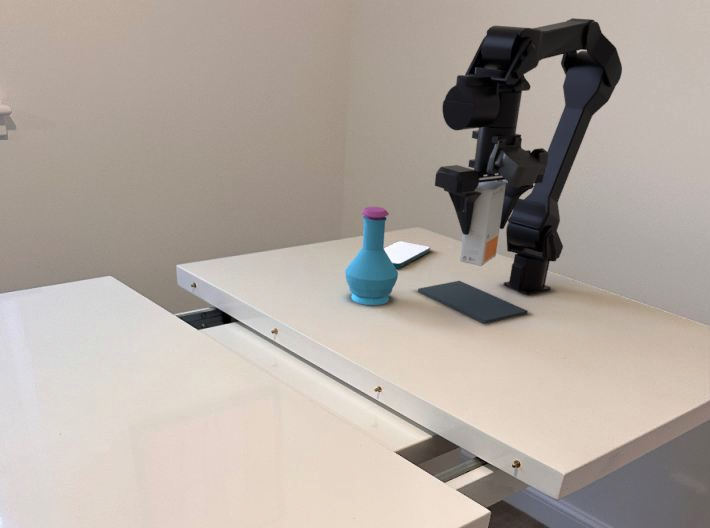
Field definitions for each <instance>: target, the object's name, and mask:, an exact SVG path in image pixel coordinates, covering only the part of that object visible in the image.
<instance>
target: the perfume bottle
mask: <svg viewBox="0 0 710 528" xmlns="http://www.w3.org/2000/svg"><path fill="white" fill-rule="evenodd" d="M360 214H361V215H363V217H362V220H363V232H362V233H363V234H362V247H361V249H360V250H359V251H358V253H357V254H356V255H355V256H354V258H353V259H352V260H351V261H350V263H349V264H348V265H347V267H346V268H345V271H344V272H345V279H346V283H347V286H348V290H349V291H350V292H351V293H352V294H351V300H352V301H353V302H355V303H357V304H360V305H366V306H380V305H384V304H386V303H388V302H389V300H390V296H389V295H391V294H392V292H393V288H394V287H395V286H396V283H397V280H398V276H399V272H398V270H397V267H395V266H394V265H393V263H392V262H391V260H390V258H389V257H388V255H387V253H386V252H385V250H384V248H385V229H386V221H387V216H389V215H390V213H389V212H388V210H387V209H385V208H384V207H379V206H367V207H365V208H364V209H363V210H362V211H361V212H360Z"/></svg>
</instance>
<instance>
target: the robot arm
mask: <svg viewBox="0 0 710 528" xmlns="http://www.w3.org/2000/svg"><path fill="white" fill-rule="evenodd" d="M485 33H486V35H485V36H484V37H483V39H481V43H479V46H478V48H477V50H476V52H475V54H474V56H473V58H472V60H471V62H470V64H469V66H468V68H467V70H466V72H465V74H458V75H457V76H456V81H455V85H454V86H452V87H451V88H450V89H449V90H448V91H447V93H446V95H445V97H444V100H443V102H442V109H441V110H442V116H443V119H444V122H445V124H446V126H448V127H449V128H450V129H451V130H453V131H464V130H465V131H466V130H472V129H477V130H472V131H471V132H472V133H471V139H475V140H476V145H475V146H476V147H475V155H474V159H469V160H468V167H465V166H462V165H458V164H454V165H445V166H443V165H442V166H440V167H439V168H438V170H436V172H435V177H434V178H435V180H434V186H435V187H437V188H439V189H440V188H441V189H443V191H444V192H447V193H448V195H449V197H450V200H451V203H452V205H453V207H454V210H455V214H456V217H457V220H458V223H459V226H460V229H461V233H462V235H463V234H465V235H468V234H469V230H470V226H471V221H472V214H473V208H474V202H475V201H476V199H477V198H478V197H479V196H480V195H481V193H480V192H477V191H476V188H477V186H478V184H479V183H481V182H489V181H499V182H505V183H506V187H505V194H504V201H503V208H502V215H501V223H500V229H499V230H503V229H505V227H506V229H505V233H506V234H505V235H506V251H507V252H509V253H514V258H513V263H512V264H511V269H510V276H509V281H505V282H503V286H505V287H507V288H509V289H512V290H513V291H516V292H519V293H521V294H523V295H527V296H529V295H534V294H539V293H543V292H548V291H551V289H552V286H549V285H548V284H547V285H546V281H547V276H548V273H549V272H548V271H549V267H550V262H557V260H558V259H559V258H560V257H561V254H562V252H563V249H564V245H563V242H562V240H561V238H560V235H559V233H558V229H559V225H560V223H561V217H560V207H559V201H560V198H561V196H562V192H563V190H564V187H565V185H566V182H567V180H568V178H569V176H570V173H571V170H572V168H573V165H574V163H575V160H576V158H577V155H578V153H579V150H580V148H581V145H582V143H583V140H584V138H585V135H586V133H587V130H588V127H589V125H590V123H591V121H592V118H593V116H594V115H595V114H596V113H597V112H598V111H600V109H602V108H603V106H605V105H606V104H607V103H608V102H609V101H610V99H611V97H612V95H613V93H614V91H615V89H616V87H617V85H618V84H619V81H621V78H622V73H623V65H622V62H621V58H620V56H619V52H618V50H617V47H616V46H615V45H614V44H613V43H612V42H611V41H610V40H609V39H608V38H607V36H606V35H604V33H603V32H602V29H601V25H600V23H599V22H598V21H595V20H594V19H591V18H574V17H573V18H570V19H567V20H566V21H562V22H556V23H552V24H548V25H542V26H537V27H532V28H531V27H524V26H523V27H522V26H521V27H520V26H507V25H492V26H490V27H489V28H488V29H487V30H486V32H485ZM560 55H561V60H560V65H561V68H562V70H563V72H564V75H565V78H564V81H563V84H562V90H563V91H562V92H563V98H564V108H563V110H562V113H561V115H560V118H559V121H558V122H557V126H556V128H555V131H554V133H553V136H552V138H551V141H550V144H549V145H548V149H547V150H546V149H545V148H543V147H541V148H534V149H533V150H530V149H528V150H525V149H524V148H522V143H523V142H522V140H523V139H522V134H520V133H517V127H518V120H519V114H520V107H521V101H522V94H523V92H526V91H527V92H528V91H530V90H531V85H530V82H529V81H528V80H527V78H526V77H525V74H527V73H529V72H531V71H533V70H534V69H536V68H537V67H538V65H539V63H540V62H541V61H542V60H544V59H549V58H552V57H553V58H554V57H557V56H560ZM529 190H531V192H530V193H529V194H528V195H527V196H526V197H525V198H521V196H522V195H523V194H525V193H526V192H528V191H529Z"/></svg>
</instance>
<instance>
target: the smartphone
mask: <svg viewBox="0 0 710 528" xmlns="http://www.w3.org/2000/svg"><path fill="white" fill-rule="evenodd" d="M383 248H384V250H385V252H386V253H387V255H388V257H389V258H390V260H391V262H392V263H393V265H394V266H395V268H402V267H404V266H405V265H408V264H409V263H411V262H413V261H414V260H417V259H419V258H421V257H422V256H424V255H426V254H428V253H429V252H431V246H429V245H422V244H418V243H412V242H407V241H401V240H399V241H396V242H393V243H391V244H390V245H387V246H384V247H383Z"/></svg>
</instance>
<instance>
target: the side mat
mask: <svg viewBox="0 0 710 528" xmlns="http://www.w3.org/2000/svg"><path fill="white" fill-rule="evenodd" d="M417 292H418V293H420V294H421V295H424V296H426V297H427V298H430V299H432V300H434V301H436V302H438V303H440V304H443V305H444V306H446V307H449V308H451V309H452V310H454V311H456V312H459V313H461V314H463V315H465V316H468V317H470V318H471V319H474V320H476V321H478V322H479V323H482V324H484V325H486V324H489V323H494V322H498V321H503V320H507V319H511V318H516V317H519V316H524V315H527V314H528V310H527V309H524V308H523V307H520V306H518V305H516V304H514V303H511V302H508V301H507V300H504V299H502V298H500V297H497V296H495V295H493V294H490V293H489V292H486V291H483V290H481V289H479V288H477V287H474V286H472V285H470V284H468V283H466V282H463V281H461V280H456V281H451V282H445V283H440V284H436V285H430V286H424V287H420V288H418V289H417Z"/></svg>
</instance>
